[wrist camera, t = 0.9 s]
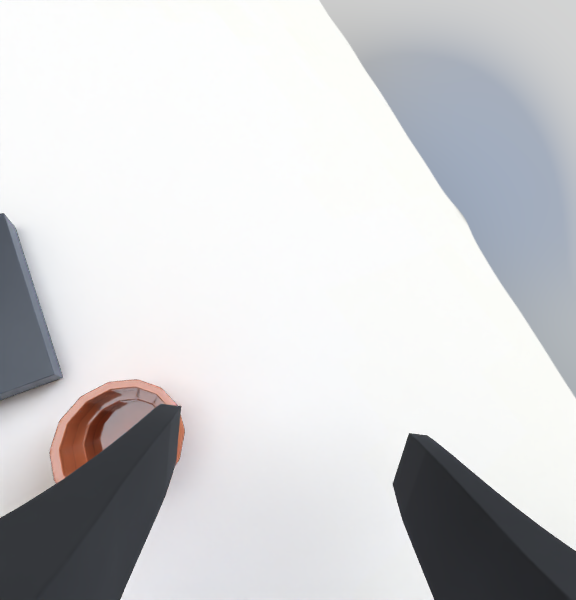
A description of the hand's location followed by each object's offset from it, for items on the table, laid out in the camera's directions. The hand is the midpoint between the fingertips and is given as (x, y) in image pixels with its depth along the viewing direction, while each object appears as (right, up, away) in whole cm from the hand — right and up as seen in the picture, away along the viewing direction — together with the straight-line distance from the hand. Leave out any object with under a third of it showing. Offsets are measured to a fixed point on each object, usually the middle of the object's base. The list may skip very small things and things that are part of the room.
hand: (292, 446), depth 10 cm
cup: (-10, -4, +10) cm, 15 cm away
